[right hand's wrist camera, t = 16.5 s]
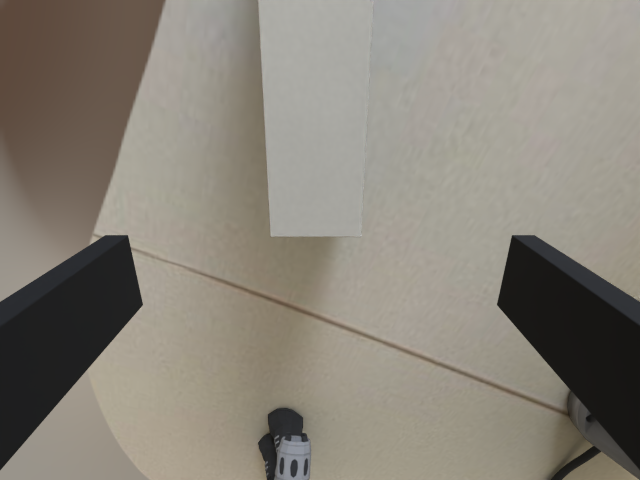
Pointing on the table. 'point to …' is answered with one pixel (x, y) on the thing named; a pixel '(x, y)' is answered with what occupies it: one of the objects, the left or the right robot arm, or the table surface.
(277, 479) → the robot
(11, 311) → the right robot arm
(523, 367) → the table surface
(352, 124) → the box
